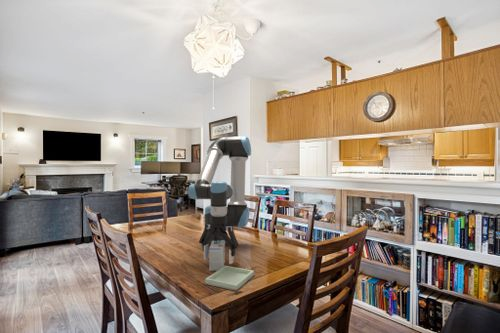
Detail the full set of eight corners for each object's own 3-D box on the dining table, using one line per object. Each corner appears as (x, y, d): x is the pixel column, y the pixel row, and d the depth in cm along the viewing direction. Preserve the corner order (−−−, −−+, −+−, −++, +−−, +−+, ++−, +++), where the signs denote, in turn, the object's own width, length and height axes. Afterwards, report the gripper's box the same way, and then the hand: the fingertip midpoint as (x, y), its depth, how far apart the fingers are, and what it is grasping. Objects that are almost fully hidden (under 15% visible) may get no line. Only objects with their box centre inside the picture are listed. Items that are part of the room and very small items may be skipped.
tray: (205, 283, 109) (205, 278, 109) (225, 269, 124) (225, 265, 124) (236, 290, 103) (236, 285, 103) (254, 275, 118) (254, 270, 118)
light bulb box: (211, 262, 133) (211, 240, 133) (225, 262, 134) (225, 240, 134) (208, 271, 123) (208, 246, 123) (224, 270, 123) (224, 246, 123)
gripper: (191, 214, 129) (191, 259, 129) (238, 218, 119) (238, 267, 119) (201, 211, 136) (200, 254, 136) (246, 215, 126) (246, 262, 126)
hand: (218, 261), depth 127 cm, fingers open, 13 cm apart
